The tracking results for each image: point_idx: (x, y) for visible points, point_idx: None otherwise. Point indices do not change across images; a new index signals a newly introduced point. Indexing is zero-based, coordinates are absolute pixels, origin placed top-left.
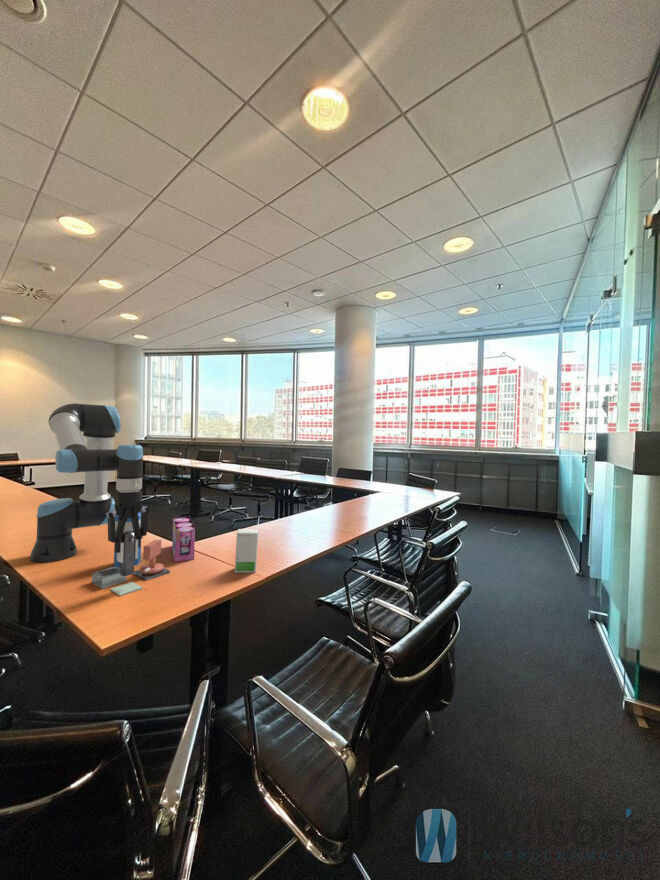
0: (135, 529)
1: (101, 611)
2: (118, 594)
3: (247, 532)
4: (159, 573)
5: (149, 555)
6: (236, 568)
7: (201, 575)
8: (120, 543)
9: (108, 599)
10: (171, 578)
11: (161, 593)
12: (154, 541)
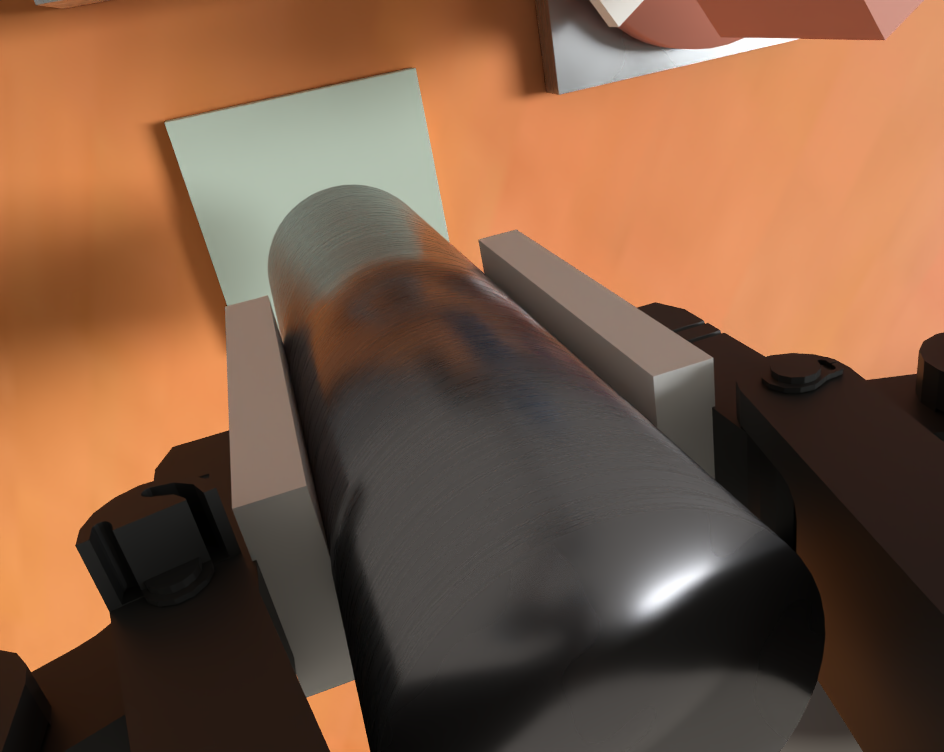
0: (885, 742)
1: (63, 570)
2: None
3: None
4: (708, 55)
5: (763, 32)
6: None
7: (924, 292)
8: (291, 654)
9: (131, 361)
10: (740, 199)
11: None
12: None
